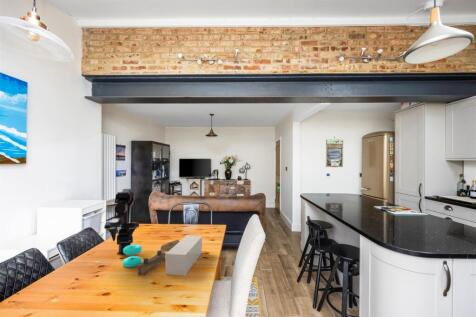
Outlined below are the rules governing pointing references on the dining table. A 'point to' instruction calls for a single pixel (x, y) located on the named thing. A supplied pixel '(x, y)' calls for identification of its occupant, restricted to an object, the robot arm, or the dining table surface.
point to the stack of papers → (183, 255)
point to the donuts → (132, 260)
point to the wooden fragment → (169, 246)
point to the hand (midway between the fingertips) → (121, 240)
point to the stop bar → (151, 263)
